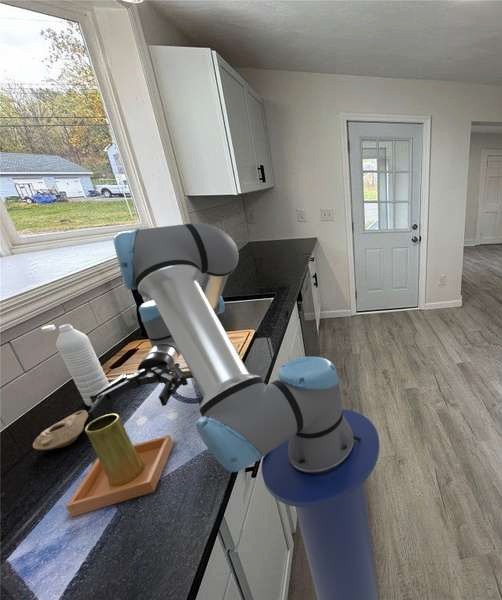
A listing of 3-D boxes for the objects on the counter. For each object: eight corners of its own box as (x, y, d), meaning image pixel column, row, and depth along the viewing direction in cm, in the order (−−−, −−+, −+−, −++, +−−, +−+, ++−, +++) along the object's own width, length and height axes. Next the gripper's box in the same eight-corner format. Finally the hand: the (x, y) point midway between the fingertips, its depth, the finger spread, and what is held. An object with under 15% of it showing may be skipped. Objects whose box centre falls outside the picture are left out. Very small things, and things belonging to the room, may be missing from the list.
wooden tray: (173, 444, 77) (169, 435, 76) (154, 491, 65) (149, 481, 64) (105, 462, 73) (100, 452, 72) (71, 516, 61) (65, 506, 60)
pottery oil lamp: (106, 415, 87) (99, 402, 83) (72, 460, 78) (63, 448, 74) (68, 411, 85) (60, 397, 81) (30, 456, 76) (17, 443, 72)
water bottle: (119, 391, 98) (86, 319, 89) (103, 405, 92) (66, 329, 83) (89, 394, 97) (53, 322, 88) (71, 408, 91) (31, 332, 82)
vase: (151, 464, 71) (128, 413, 66) (124, 488, 65) (97, 435, 60) (130, 460, 72) (106, 410, 67) (101, 484, 66) (73, 431, 61)
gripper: (209, 364, 96) (193, 407, 78) (111, 384, 89) (67, 437, 70) (203, 343, 94) (184, 382, 75) (100, 362, 86) (52, 410, 67)
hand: (127, 409), depth 73 cm, fingers open, 13 cm apart
